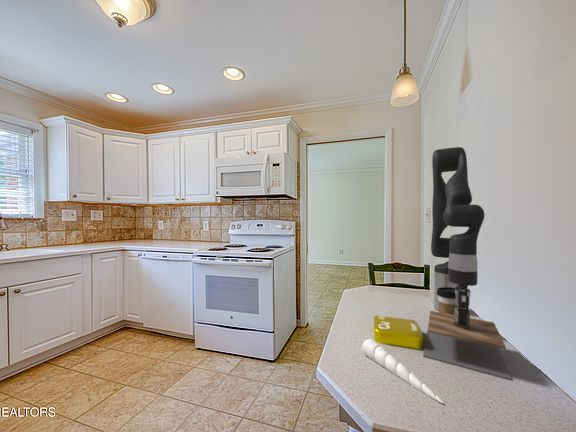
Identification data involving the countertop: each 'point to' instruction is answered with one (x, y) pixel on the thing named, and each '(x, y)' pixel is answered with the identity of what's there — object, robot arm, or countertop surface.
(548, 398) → the countertop surface
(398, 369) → the unicorn horn
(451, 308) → the coffee cup
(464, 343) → the rubber mat
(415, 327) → the element tile
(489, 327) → the walnut lid
